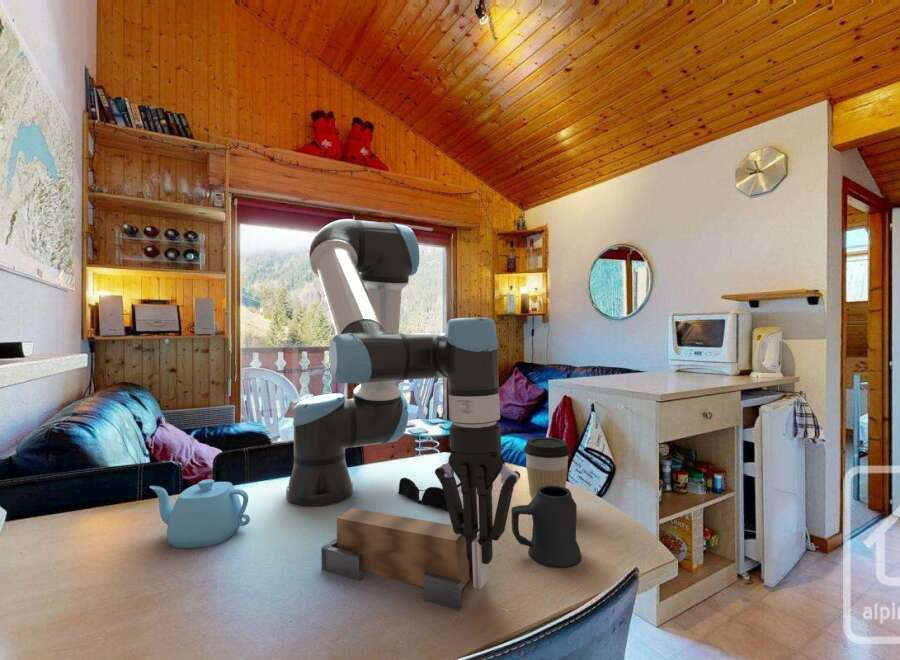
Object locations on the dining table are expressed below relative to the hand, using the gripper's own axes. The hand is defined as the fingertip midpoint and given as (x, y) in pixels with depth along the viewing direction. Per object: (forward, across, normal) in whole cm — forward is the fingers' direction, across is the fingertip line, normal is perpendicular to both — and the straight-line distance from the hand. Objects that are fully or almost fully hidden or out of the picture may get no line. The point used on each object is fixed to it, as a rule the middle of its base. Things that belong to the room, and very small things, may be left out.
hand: (480, 583), depth 65 cm
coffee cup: (+2, +2, +34) cm, 34 cm away
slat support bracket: (+1, -22, 0) cm, 22 cm away
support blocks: (+2, -4, 0) cm, 5 cm away
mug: (+3, +6, +16) cm, 17 cm away
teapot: (-5, -63, -9) cm, 64 cm away
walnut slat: (+1, -14, +1) cm, 14 cm away
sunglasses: (+2, -23, +33) cm, 40 cm away
